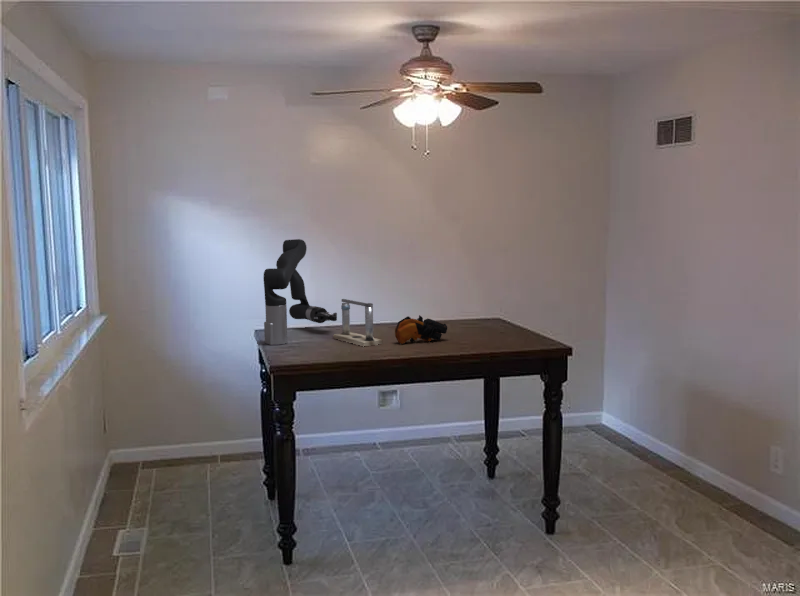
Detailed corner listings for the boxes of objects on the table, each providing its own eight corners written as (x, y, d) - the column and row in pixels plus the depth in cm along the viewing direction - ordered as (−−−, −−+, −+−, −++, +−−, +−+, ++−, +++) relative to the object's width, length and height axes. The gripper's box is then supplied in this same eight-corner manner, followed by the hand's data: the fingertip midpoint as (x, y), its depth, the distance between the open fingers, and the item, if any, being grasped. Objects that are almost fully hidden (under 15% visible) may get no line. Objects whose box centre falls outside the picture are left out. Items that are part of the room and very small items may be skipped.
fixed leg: (368, 341, 332) (367, 304, 330) (340, 333, 351) (339, 298, 348) (374, 340, 334) (374, 303, 332) (346, 333, 353) (345, 298, 350)
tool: (439, 358, 340) (451, 326, 340) (394, 342, 332) (406, 310, 332) (432, 354, 348) (444, 323, 348) (388, 339, 340) (400, 307, 339)
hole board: (363, 347, 329) (363, 342, 329) (333, 338, 349) (333, 334, 349) (382, 344, 335) (382, 339, 335) (351, 336, 355) (351, 332, 355)
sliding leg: (344, 334, 347) (344, 304, 345) (340, 333, 350) (339, 303, 348) (352, 333, 349) (351, 303, 347) (347, 332, 352) (346, 302, 350)
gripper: (304, 308, 366) (322, 312, 352) (328, 305, 373) (347, 309, 359) (304, 323, 367) (323, 328, 353) (328, 320, 374) (347, 325, 360)
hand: (335, 318), depth 356 cm, fingers closed
